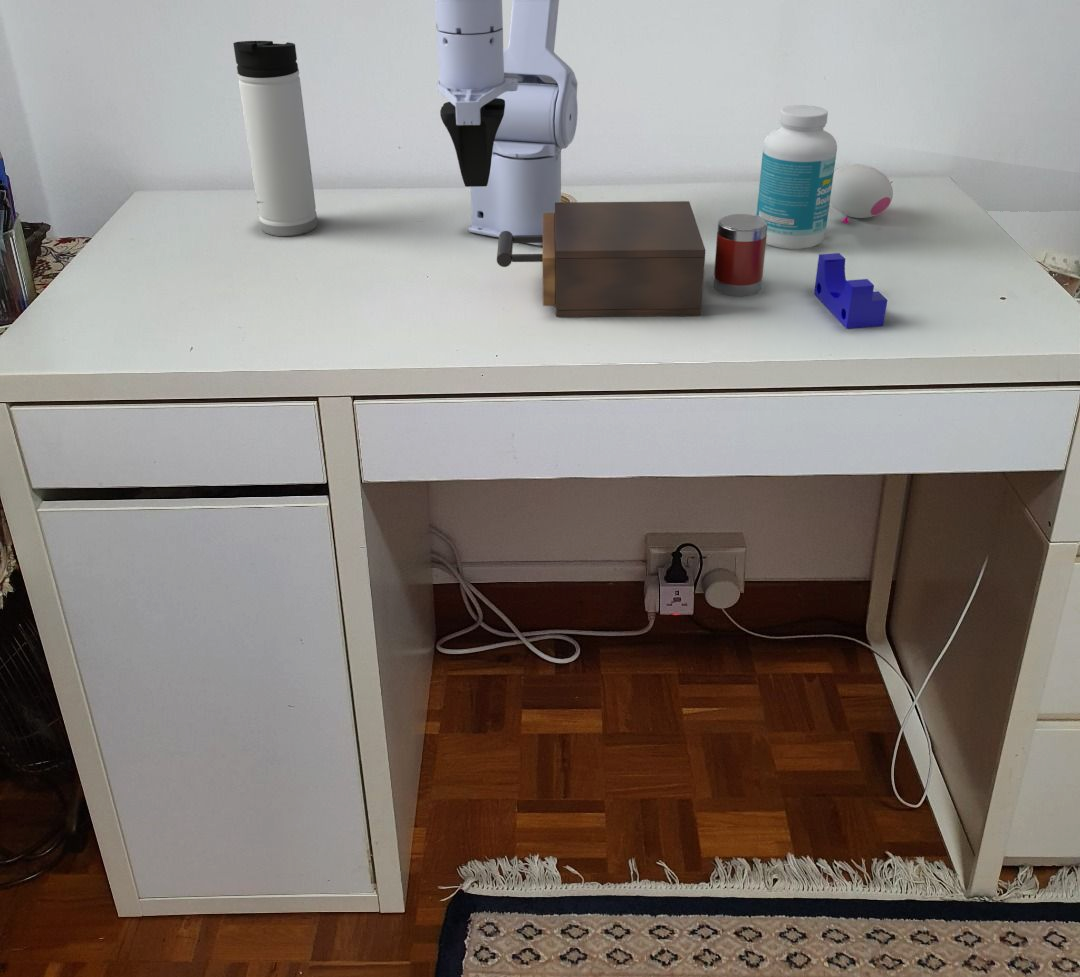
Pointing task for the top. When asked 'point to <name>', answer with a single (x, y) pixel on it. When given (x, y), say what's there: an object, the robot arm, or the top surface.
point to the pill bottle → (797, 178)
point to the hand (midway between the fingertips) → (476, 184)
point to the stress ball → (860, 191)
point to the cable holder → (848, 294)
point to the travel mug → (276, 136)
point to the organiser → (628, 259)
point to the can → (740, 254)
